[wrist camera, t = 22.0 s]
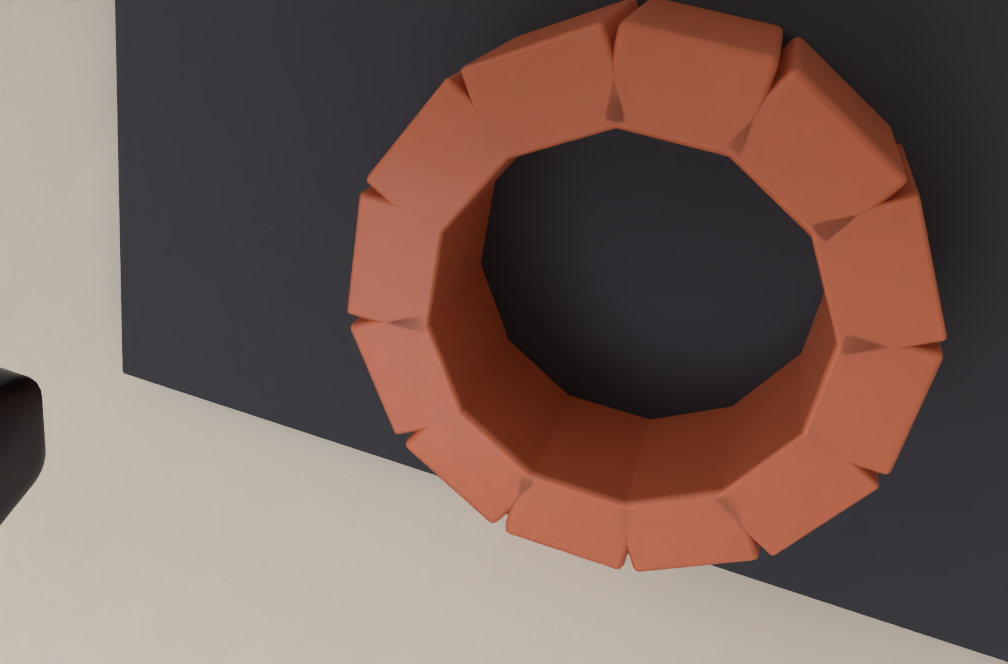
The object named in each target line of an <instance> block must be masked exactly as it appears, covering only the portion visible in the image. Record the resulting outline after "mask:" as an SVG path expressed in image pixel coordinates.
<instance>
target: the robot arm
mask: <svg viewBox="0 0 1008 664" xmlns="http://www.w3.org/2000/svg"><path fill="white" fill-rule="evenodd" d="M45 452H46V450H45V435H44V421H43V406H42V394H41V390H40V388H39V386H38V384H37V383H36V382H35V381H34V380H33V379H31V378H29V377H27V376H24V375H21V374H18V373H15V372H12V371H9V370H6V369H3V368H0V525H1V523H2V522H3V521H4V520H5V518H6V517H7V516H8V515H9V513H10V512H11V511H12V510H13V509H14V507H15V506H16V505H17V504H18V502H19V501H20V500H21V499H22V497H23V496H24V495H25V494H26V492H27V491H28V490H29V489H30V487H31V486H32V485H33V484H34V482H35V481H36V479H37V478H38V476H39V474H40V472H41V470H42V467H43V465H44V460H45Z"/></svg>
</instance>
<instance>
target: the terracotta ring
mask: <svg viewBox="0 0 1008 664" xmlns="http://www.w3.org/2000/svg"><path fill="white" fill-rule="evenodd" d="M782 39H783V29H782V28H781V27H779V26H778V25H774V24H770V23H765V22H761V21H756V20H752V19H748V18H743V17H739V16H734V15H730V14H726V13H721V12H717V11H712V10H708V9H704V8H699V7H695V6H690V5H686V4H682V3H677V2H673V1H668V0H648V1H647V2H645V3H644V4H643V5H642V6H640V7H638V3H637V1H636V0H624V1H621V2H618V3H615V4H612V5H609V6H606V7H603V8H600V9H597V10H594V11H591V12H588V13H585V14H582V15H579V16H576V17H573V18H570V19H567V20H564V21H562V22H559V23H556V24H553V25H550V26H547V27H544V28H541V29H538V30H535V31H532V32H529V33H526V34H523V35H520V36H517V37H515V38H513V39H511V40H509V41H508V42H506V43H504V44H502V45H501V46H499V47H497V48H495V49H494V50H492V51H490V52H488V53H486V54H485V55H483V56H481V57H479V58H478V59H476V60H474V61H472V62H470V63H469V64H467V65H465V66H464V67H463V68H462V69H461V71H459V72H457V73H456V74H454V75H452V76H450V77H449V78H447V79H445V80H444V81H443V83H442V84H441V85H440V86H439V88H438V89H437V90H436V91H435V93H434V94H433V95H432V96H431V98H430V99H429V100H428V101H427V103H426V104H425V105H424V106H423V108H422V109H421V110H420V111H419V113H418V114H417V115H416V116H415V118H414V119H413V120H412V121H411V123H410V124H409V125H408V126H407V128H406V129H405V130H404V131H403V133H402V134H401V135H400V136H399V138H398V139H397V140H396V141H395V143H394V144H393V145H392V146H391V148H390V149H389V150H388V151H387V153H386V154H385V155H384V156H383V158H382V159H381V160H380V161H379V163H378V164H377V165H376V166H375V168H374V169H373V170H372V171H371V173H370V174H369V175H368V177H367V182H368V183H369V184H370V185H371V186H370V187H369V188H367V189H366V190H365V191H363V192H362V193H361V195H360V199H359V209H358V218H357V227H356V237H355V246H354V255H353V264H352V274H351V283H350V292H349V301H348V313H349V314H352V315H355V316H358V317H359V318H358V319H357V320H356V321H355V322H354V323H353V324H352V325H351V331H352V333H353V335H354V338H355V340H356V343H357V345H358V347H359V350H360V352H361V354H362V357H363V359H364V361H365V364H366V366H367V369H368V371H369V373H370V376H371V378H372V380H373V383H374V385H375V387H376V390H377V392H378V395H379V397H380V399H381V402H382V404H383V406H384V409H385V411H386V413H387V416H388V418H389V421H390V423H391V425H392V428H393V430H394V432H395V433H396V434H403V433H408V432H412V434H411V435H410V437H409V438H408V439H407V442H406V446H407V448H408V449H409V450H410V451H411V452H412V453H413V454H414V455H415V456H417V457H418V458H419V459H420V460H421V461H422V462H423V463H424V464H425V465H427V466H428V467H429V468H430V469H431V470H432V471H433V472H434V473H436V474H437V475H438V476H439V477H440V478H441V479H442V480H443V481H445V482H446V483H447V484H448V485H449V486H450V487H451V488H452V489H453V490H455V491H456V492H457V493H458V494H459V495H460V496H461V497H462V498H464V499H465V500H466V501H467V502H468V503H469V504H470V505H471V506H472V507H474V508H475V509H476V510H477V511H478V512H479V513H480V514H481V515H483V516H484V517H485V518H486V519H487V520H488V521H489V522H492V523H494V522H497V521H498V520H500V519H501V518H502V517H503V516H504V515H506V514H507V513H508V517H507V521H506V525H505V526H506V531H507V532H508V533H510V534H513V535H516V536H519V537H522V538H525V539H528V540H531V541H534V542H537V543H540V544H543V545H546V546H549V547H552V548H555V549H558V550H561V551H564V552H567V553H570V554H573V555H576V556H579V557H582V558H585V559H588V560H591V561H594V562H597V563H600V564H603V565H606V566H609V567H612V568H615V569H620V568H621V567H622V566H623V565H624V562H625V559H626V556H627V553H629V556H630V559H631V562H632V565H633V567H634V569H635V570H636V571H650V570H660V569H670V568H680V567H691V566H701V565H711V564H721V563H731V562H742V561H752V560H755V559H757V558H758V555H759V546H761V547H763V548H764V549H765V550H766V551H767V552H768V553H769V554H770V555H772V556H773V555H776V554H777V553H779V552H780V551H782V550H783V549H785V548H787V547H788V546H790V545H791V544H793V543H794V542H796V541H797V540H799V539H800V538H802V537H804V536H805V535H807V534H808V533H810V532H811V531H813V530H814V529H816V528H817V527H819V526H821V525H822V524H824V523H825V522H827V521H828V520H830V519H831V518H833V517H834V516H836V515H838V514H839V513H841V512H842V511H844V510H845V509H847V508H848V507H850V506H851V505H853V504H855V503H856V502H858V501H859V500H861V499H862V498H864V497H865V496H867V495H869V494H870V493H872V492H873V491H875V490H876V489H877V488H878V487H879V480H878V473H882V474H889V473H890V472H891V470H892V469H893V466H894V464H895V462H896V460H897V458H898V456H899V453H900V451H901V449H902V447H903V445H904V442H905V440H906V438H907V436H908V434H909V432H910V429H911V427H912V425H913V423H914V421H915V419H916V416H917V414H918V412H919V410H920V408H921V405H922V403H923V401H924V399H925V397H926V395H927V392H928V390H929V388H930V386H931V384H932V382H933V379H934V377H935V375H936V373H937V371H938V368H939V366H940V364H941V362H942V360H943V352H942V349H941V345H940V341H944V340H946V338H947V333H946V328H945V323H944V317H943V312H942V307H941V302H940V297H939V292H938V286H937V281H936V276H935V271H934V266H933V261H932V255H931V250H930V245H929V240H928V235H927V230H926V224H925V219H924V214H923V209H922V204H921V199H920V196H919V193H918V190H917V187H916V184H915V181H914V178H913V175H912V173H911V170H910V167H909V164H908V161H907V158H906V155H905V152H904V150H903V147H902V145H901V144H896V142H895V138H894V135H893V132H892V130H891V127H890V125H889V124H888V123H887V122H886V121H885V120H884V119H883V118H882V117H881V116H880V115H879V114H878V113H877V112H876V111H875V110H874V109H873V108H872V107H871V106H869V105H868V104H867V103H866V102H865V101H864V100H863V99H862V98H861V97H860V96H859V95H858V94H857V93H856V92H855V91H854V90H853V89H852V88H851V87H850V86H849V85H848V84H847V83H846V82H845V81H844V80H843V79H842V78H841V77H840V76H839V75H838V74H837V73H836V72H835V71H834V70H833V69H832V68H831V67H830V66H829V65H828V64H827V63H826V62H825V61H824V60H823V59H822V58H821V57H820V56H819V55H818V54H817V53H816V52H815V51H814V50H813V49H812V48H811V47H810V46H809V45H808V44H807V43H806V42H805V41H804V40H803V39H801V38H799V37H797V38H794V39H792V40H791V41H790V42H789V43H788V44H787V45H786V46H785V47H784V48H783V49H782V50H781V46H782ZM616 128H617V129H621V130H625V131H629V132H633V133H636V134H640V135H644V136H648V137H652V138H656V139H660V140H664V141H668V142H672V143H676V144H680V145H684V146H688V147H692V148H696V149H700V150H704V151H708V152H712V153H716V154H720V155H723V156H727V157H730V158H731V159H732V160H733V161H734V162H735V163H736V164H737V165H738V166H739V167H740V168H741V169H742V170H743V171H744V172H745V173H746V174H747V175H748V176H749V177H750V178H751V179H752V180H753V181H754V182H755V183H756V184H757V185H758V186H759V187H760V188H761V189H762V190H763V191H764V192H765V193H767V194H768V195H769V196H770V197H771V198H772V199H773V200H774V201H775V202H776V203H777V204H778V205H779V206H780V207H781V208H782V209H783V210H784V211H785V212H786V213H787V214H788V215H789V216H790V217H791V218H792V219H793V220H794V221H795V222H796V223H797V224H798V225H799V226H800V227H801V228H803V229H804V230H805V231H806V232H807V233H808V234H809V235H810V236H811V239H812V243H813V248H814V252H815V256H816V260H817V264H818V269H819V273H820V277H821V281H822V286H823V290H824V294H823V297H822V299H821V302H820V305H819V307H818V310H817V313H816V315H815V318H814V321H813V323H812V326H811V329H810V331H809V334H808V337H807V339H806V342H805V345H804V347H803V350H802V353H801V354H799V355H798V356H797V357H796V358H794V359H793V360H792V361H790V362H789V363H788V364H786V365H785V366H784V367H783V368H781V369H780V370H779V371H777V372H776V373H775V374H773V375H772V376H771V377H770V378H768V379H767V380H766V381H764V382H763V383H762V384H760V385H759V386H758V387H757V388H755V389H754V390H753V391H751V392H750V393H749V394H747V395H746V396H745V397H744V398H742V399H741V400H740V401H738V402H737V403H736V404H734V405H733V406H731V407H725V408H719V409H712V410H706V411H700V412H694V413H687V414H681V415H675V416H669V417H663V418H656V419H647V418H644V417H640V416H637V415H634V414H631V413H627V412H624V411H621V410H617V409H614V408H611V407H608V406H604V405H601V404H598V403H594V402H591V401H588V400H584V399H581V398H578V397H575V396H571V395H568V394H567V393H566V392H565V391H564V390H563V389H562V388H561V387H560V386H558V385H557V384H556V383H555V382H554V381H553V380H552V379H551V378H550V377H549V376H548V375H546V374H545V373H544V372H543V371H542V370H541V369H540V368H539V367H538V366H537V365H536V364H535V363H533V362H532V361H531V360H530V359H529V358H528V357H527V356H526V355H525V354H524V353H523V352H521V351H520V350H519V349H518V348H517V347H516V346H515V345H514V344H513V343H512V342H511V341H510V340H508V337H507V334H506V331H505V329H504V326H503V323H502V320H501V318H500V315H499V312H498V309H497V307H496V304H495V301H494V298H493V296H492V293H491V290H490V287H489V285H488V282H487V279H486V276H485V274H484V271H483V268H482V265H481V258H482V252H483V247H484V241H485V235H486V230H487V224H488V219H489V213H490V207H491V202H492V196H493V191H494V185H495V181H496V180H497V179H498V178H499V177H500V176H501V175H502V173H503V172H504V171H505V170H506V169H507V168H508V167H509V166H510V165H511V163H512V162H513V161H514V160H515V159H516V158H517V157H518V156H521V155H525V154H528V153H532V152H535V151H539V150H542V149H546V148H549V147H553V146H556V145H560V144H563V143H567V142H570V141H574V140H577V139H581V138H584V137H588V136H591V135H595V134H598V133H602V132H605V131H609V130H612V129H616Z"/></svg>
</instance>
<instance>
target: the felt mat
mask: <svg viewBox="0 0 1008 664" xmlns="http://www.w3.org/2000/svg"><path fill="white" fill-rule="evenodd" d="M621 1H624V0H115V12H116V61H117V110H118V159H119V208H120V257H121V306H122V355H123V372H124V373H125V374H128V375H131V376H134V377H138V378H141V379H144V380H147V381H150V382H153V383H156V384H159V385H162V386H165V387H168V388H171V389H174V390H177V391H180V392H183V393H186V394H190V395H193V396H196V397H199V398H202V399H205V400H208V401H211V402H214V403H217V404H220V405H223V406H226V407H229V408H232V409H235V410H239V411H242V412H245V413H248V414H251V415H254V416H257V417H260V418H263V419H266V420H269V421H272V422H275V423H278V424H281V425H284V426H288V427H291V428H294V429H297V430H300V431H303V432H306V433H309V434H312V435H315V436H318V437H321V438H324V439H327V440H330V441H333V442H337V443H340V444H343V445H346V446H349V447H352V448H355V449H358V450H361V451H364V452H367V453H370V454H373V455H376V456H379V457H382V458H385V459H389V460H392V461H395V462H398V463H401V464H404V465H407V466H410V467H413V468H416V469H419V470H422V471H425V472H428V473H431V474H434V475H437V474H436V473H434V472H433V471H432V470H431V469H430V468H429V467H428V466H427V465H425V464H424V463H423V462H422V461H421V460H420V459H419V458H418V457H417V456H415V455H414V454H413V453H412V452H411V451H410V450H409V449H408V448H407V446H406V442H407V439H408V438H409V437H410V435H411V434H412V432H408V433H403V434H396V433H395V432H394V430H393V428H392V425H391V423H390V421H389V418H388V416H387V413H386V411H385V409H384V406H383V404H382V402H381V399H380V397H379V395H378V392H377V390H376V387H375V385H374V383H373V380H372V378H371V376H370V373H369V371H368V369H367V366H366V364H365V361H364V359H363V357H362V354H361V352H360V350H359V347H358V345H357V343H356V340H355V338H354V335H353V333H352V331H351V325H352V324H353V323H354V322H355V321H356V320H357V319H358V318H359V317H358V316H355V315H352V314H349V313H348V301H349V292H350V283H351V274H352V264H353V255H354V246H355V237H356V227H357V218H358V209H359V199H360V195H361V193H362V192H363V191H365V190H366V189H367V188H369V187H370V186H371V185H370V184H369V183H368V182H367V177H368V175H369V174H370V173H371V171H372V170H373V169H374V168H375V166H376V165H377V164H378V163H379V161H380V160H381V159H382V158H383V156H384V155H385V154H386V153H387V151H388V150H389V149H390V148H391V146H392V145H393V144H394V143H395V141H396V140H397V139H398V138H399V136H400V135H401V134H402V133H403V131H404V130H405V129H406V128H407V126H408V125H409V124H410V123H411V121H412V120H413V119H414V118H415V116H416V115H417V114H418V113H419V111H420V110H421V109H422V108H423V106H424V105H425V104H426V103H427V101H428V100H429V99H430V98H431V96H432V95H433V94H434V93H435V91H436V90H437V89H438V88H439V86H440V85H441V84H442V83H443V81H444V80H445V79H447V78H449V77H450V76H452V75H454V74H456V73H457V72H459V71H461V69H462V68H463V67H464V66H465V65H467V64H469V63H470V62H472V61H474V60H476V59H478V58H479V57H481V56H483V55H485V54H486V53H488V52H490V51H492V50H494V49H495V48H497V47H499V46H501V45H502V44H504V43H506V42H508V41H509V40H511V39H513V38H515V37H517V36H520V35H523V34H526V33H529V32H532V31H535V30H538V29H541V28H544V27H547V26H550V25H553V24H556V23H559V22H562V21H564V20H567V19H570V18H573V17H576V16H579V15H582V14H585V13H588V12H591V11H594V10H597V9H600V8H603V7H606V6H609V5H612V4H615V3H618V2H621ZM636 1H637V3H638V7H640V6H642V5H643V4H644V3H645V2H647V1H648V0H636ZM668 1H673V2H677V3H682V4H686V5H690V6H695V7H699V8H704V9H708V10H712V11H717V12H721V13H726V14H730V15H734V16H739V17H743V18H748V19H752V20H756V21H761V22H765V23H770V24H774V25H778V26H779V27H781V28H782V29H783V39H782V46H781V50H782V49H783V48H784V47H785V46H786V45H787V44H788V43H789V42H790V41H791V40H792V39H794V38H797V37H799V38H801V39H803V40H804V41H805V42H806V43H807V44H808V45H809V46H810V47H811V48H812V49H813V50H814V51H815V52H816V53H817V54H818V55H819V56H820V57H821V58H822V59H823V60H824V61H825V62H826V63H827V64H828V65H829V66H830V67H831V68H832V69H833V70H834V71H835V72H836V73H837V74H838V75H839V76H840V77H841V78H842V79H843V80H844V81H845V82H846V83H847V84H848V85H849V86H850V87H851V88H852V89H853V90H854V91H855V92H856V93H857V94H858V95H859V96H860V97H861V98H862V99H863V100H864V101H865V102H866V103H867V104H868V105H869V106H871V107H872V108H873V109H874V110H875V111H876V112H877V113H878V114H879V115H880V116H881V117H882V118H883V119H884V120H885V121H886V122H887V123H888V124H889V125H890V127H891V130H892V132H893V135H894V138H895V142H896V144H901V145H902V147H903V150H904V152H905V155H906V158H907V161H908V164H909V167H910V170H911V173H912V175H913V178H914V181H915V184H916V187H917V190H918V193H919V196H920V199H921V204H922V209H923V214H924V219H925V224H926V230H927V235H928V240H929V245H930V250H931V255H932V261H933V266H934V271H935V276H936V281H937V286H938V292H939V297H940V302H941V307H942V312H943V317H944V323H945V328H946V333H947V338H946V340H944V341H940V345H941V349H942V352H943V360H942V362H941V364H940V366H939V368H938V371H937V373H936V375H935V377H934V379H933V382H932V384H931V386H930V388H929V390H928V392H927V395H926V397H925V399H924V401H923V403H922V405H921V408H920V410H919V412H918V414H917V416H916V419H915V421H914V423H913V425H912V427H911V429H910V432H909V434H908V436H907V438H906V440H905V442H904V445H903V447H902V449H901V451H900V453H899V456H898V458H897V460H896V462H895V464H894V466H893V469H892V470H891V472H890V473H889V474H882V473H878V480H879V487H878V488H877V489H876V490H875V491H873V492H872V493H870V494H869V495H867V496H865V497H864V498H862V499H861V500H859V501H858V502H856V503H855V504H853V505H851V506H850V507H848V508H847V509H845V510H844V511H842V512H841V513H839V514H838V515H836V516H834V517H833V518H831V519H830V520H828V521H827V522H825V523H824V524H822V525H821V526H819V527H817V528H816V529H814V530H813V531H811V532H810V533H808V534H807V535H805V536H804V537H802V538H800V539H799V540H797V541H796V542H794V543H793V544H791V545H790V546H788V547H787V548H785V549H783V550H782V551H780V552H779V553H777V554H776V555H773V556H772V555H770V554H769V553H768V552H767V551H766V550H765V549H764V548H763V547H761V546H759V555H758V558H757V559H755V560H752V561H742V562H731V563H721V564H711V565H713V566H716V567H719V568H722V569H725V570H728V571H731V572H734V573H738V574H741V575H744V576H747V577H750V578H753V579H756V580H759V581H762V582H765V583H768V584H771V585H774V586H777V587H780V588H783V589H787V590H790V591H793V592H796V593H799V594H802V595H805V596H808V597H811V598H814V599H817V600H820V601H823V602H826V603H829V604H832V605H836V606H839V607H842V608H845V609H848V610H851V611H854V612H857V613H860V614H863V615H866V616H869V617H872V618H875V619H878V620H881V621H885V622H888V623H891V624H894V625H897V626H900V627H903V628H906V629H909V630H912V631H915V632H918V633H921V634H924V635H927V636H930V637H933V638H937V639H940V640H943V641H946V642H949V643H952V644H955V645H958V646H961V647H964V648H967V649H970V650H973V651H976V652H979V653H982V654H986V655H989V656H992V657H995V658H998V659H1001V660H1004V661H1007V662H1008V0H668ZM481 265H482V268H483V271H484V274H485V276H486V279H487V282H488V285H489V287H490V290H491V293H492V296H493V298H494V301H495V304H496V307H497V309H498V312H499V315H500V318H501V320H502V323H503V326H504V329H505V331H506V334H507V337H508V340H510V341H511V342H512V343H513V344H514V345H515V346H516V347H517V348H518V349H519V350H520V351H521V352H523V353H524V354H525V355H526V356H527V357H528V358H529V359H530V360H531V361H532V362H533V363H535V364H536V365H537V366H538V367H539V368H540V369H541V370H542V371H543V372H544V373H545V374H546V375H548V376H549V377H550V378H551V379H552V380H553V381H554V382H555V383H556V384H557V385H558V386H560V387H561V388H562V389H563V390H564V391H565V392H566V393H567V394H568V395H571V396H575V397H578V398H581V399H584V400H588V401H591V402H594V403H598V404H601V405H604V406H608V407H611V408H614V409H617V410H621V411H624V412H627V413H631V414H634V415H637V416H640V417H644V418H647V419H656V418H663V417H669V416H675V415H681V414H687V413H694V412H700V411H706V410H712V409H719V408H725V407H731V406H733V405H734V404H736V403H737V402H738V401H740V400H741V399H742V398H744V397H745V396H746V395H747V394H749V393H750V392H751V391H753V390H754V389H755V388H757V387H758V386H759V385H760V384H762V383H763V382H764V381H766V380H767V379H768V378H770V377H771V376H772V375H773V374H775V373H776V372H777V371H779V370H780V369H781V368H783V367H784V366H785V365H786V364H788V363H789V362H790V361H792V360H793V359H794V358H796V357H797V356H798V355H799V354H801V353H802V350H803V347H804V345H805V342H806V339H807V337H808V334H809V331H810V329H811V326H812V323H813V321H814V318H815V315H816V313H817V310H818V307H819V305H820V302H821V299H822V297H823V294H824V290H823V286H822V281H821V277H820V273H819V269H818V264H817V260H816V256H815V252H814V248H813V243H812V239H811V236H810V235H809V234H808V233H807V232H806V231H805V230H804V229H803V228H801V227H800V226H799V225H798V224H797V223H796V222H795V221H794V220H793V219H792V218H791V217H790V216H789V215H788V214H787V213H786V212H785V211H784V210H783V209H782V208H781V207H780V206H779V205H778V204H777V203H776V202H775V201H774V200H773V199H772V198H771V197H770V196H769V195H768V194H767V193H765V192H764V191H763V190H762V189H761V188H760V187H759V186H758V185H757V184H756V183H755V182H754V181H753V180H752V179H751V178H750V177H749V176H748V175H747V174H746V173H745V172H744V171H743V170H742V169H741V168H740V167H739V166H738V165H737V164H736V163H735V162H734V161H733V160H732V159H731V158H730V157H727V156H723V155H720V154H716V153H712V152H708V151H704V150H700V149H696V148H692V147H688V146H684V145H680V144H676V143H672V142H668V141H664V140H660V139H656V138H652V137H648V136H644V135H640V134H636V133H633V132H629V131H625V130H621V129H617V128H616V129H612V130H609V131H605V132H602V133H598V134H595V135H591V136H588V137H584V138H581V139H577V140H574V141H570V142H567V143H563V144H560V145H556V146H553V147H549V148H546V149H542V150H539V151H535V152H532V153H528V154H525V155H521V156H518V157H517V158H516V159H515V160H514V161H513V162H512V163H511V165H510V166H509V167H508V168H507V169H506V170H505V171H504V172H503V173H502V175H501V176H500V177H499V178H498V179H497V180H496V181H495V185H494V191H493V196H492V202H491V207H490V213H489V219H488V224H487V230H486V235H485V241H484V247H483V252H482V258H481Z"/></svg>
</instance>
